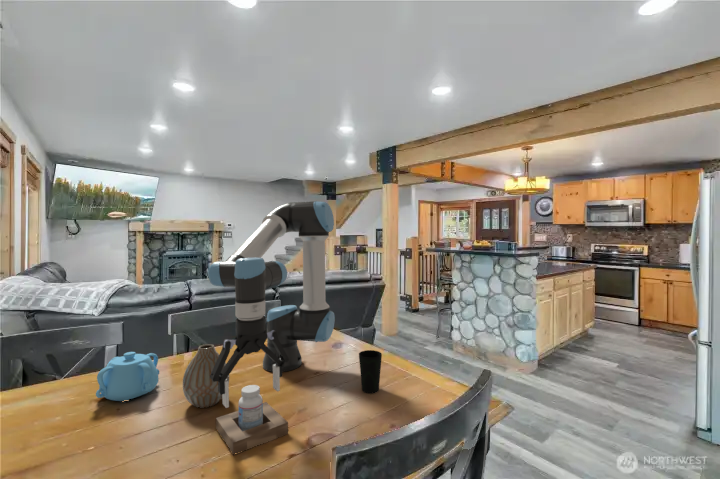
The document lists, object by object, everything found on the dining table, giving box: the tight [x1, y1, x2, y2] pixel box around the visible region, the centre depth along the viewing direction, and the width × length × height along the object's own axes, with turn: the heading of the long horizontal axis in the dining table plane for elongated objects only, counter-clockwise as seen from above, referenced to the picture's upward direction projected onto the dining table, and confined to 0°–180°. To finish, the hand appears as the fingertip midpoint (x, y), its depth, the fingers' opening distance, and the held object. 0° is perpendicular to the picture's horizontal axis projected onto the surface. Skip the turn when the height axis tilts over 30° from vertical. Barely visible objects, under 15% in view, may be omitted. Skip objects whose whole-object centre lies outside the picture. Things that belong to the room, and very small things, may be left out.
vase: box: [182, 343, 230, 409], centre depth 105 cm, size 13×13×18 cm
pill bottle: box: [238, 384, 264, 431], centre depth 89 cm, size 6×6×11 cm
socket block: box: [215, 401, 289, 455], centre depth 89 cm, size 14×14×3 cm
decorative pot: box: [95, 351, 160, 402], centre depth 111 cm, size 16×16×14 cm
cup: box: [358, 349, 383, 395], centre depth 113 cm, size 8×8×12 cm
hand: (252, 397), depth 90 cm, fingers open, 13 cm apart
